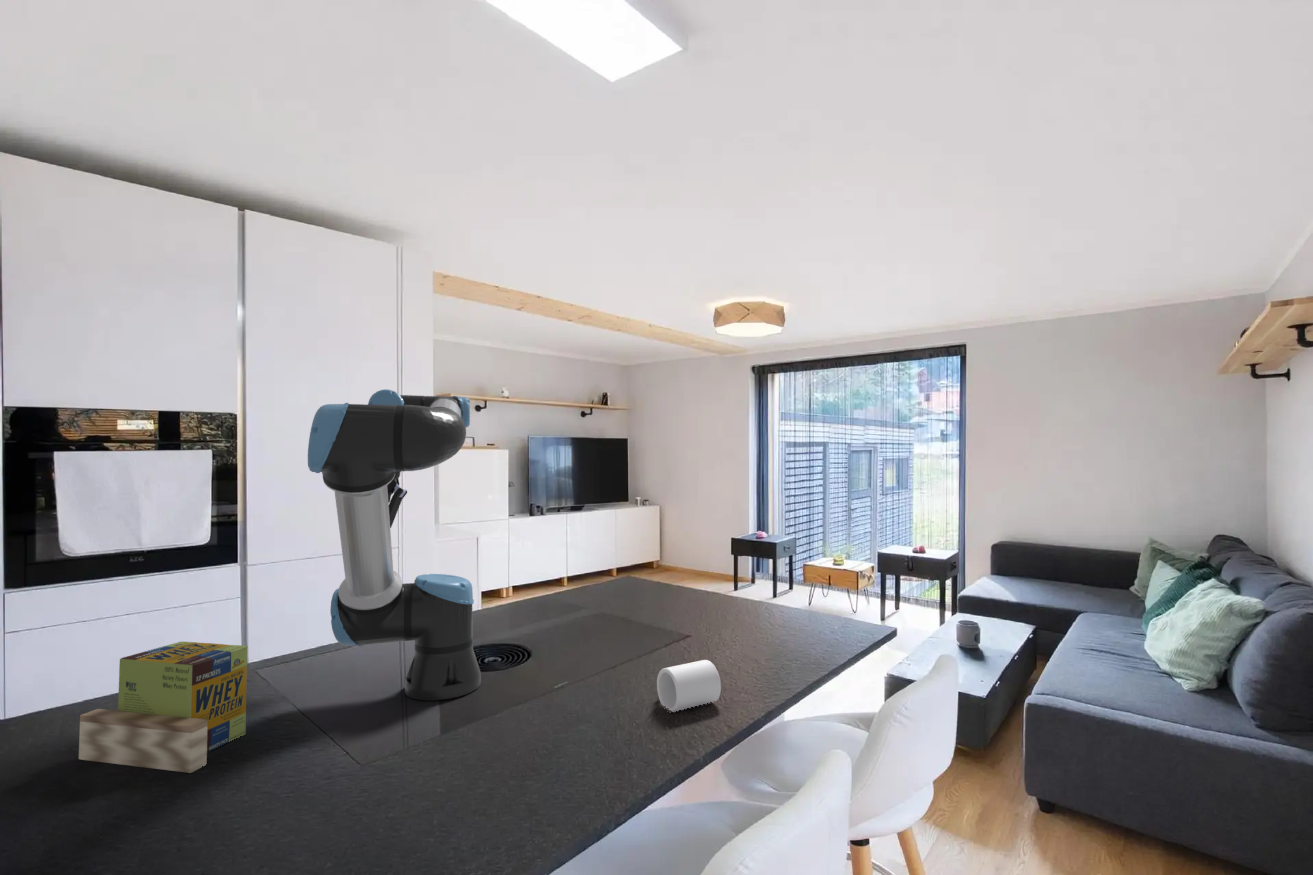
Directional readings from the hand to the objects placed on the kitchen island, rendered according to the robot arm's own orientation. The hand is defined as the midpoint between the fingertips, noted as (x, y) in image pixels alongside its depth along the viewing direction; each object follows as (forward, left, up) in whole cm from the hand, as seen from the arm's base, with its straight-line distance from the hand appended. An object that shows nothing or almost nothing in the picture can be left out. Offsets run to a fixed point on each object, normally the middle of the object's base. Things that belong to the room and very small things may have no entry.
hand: (368, 558), depth 141 cm
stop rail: (+6, +45, -25) cm, 52 cm away
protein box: (+6, +39, -26) cm, 47 cm away
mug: (-75, +5, -26) cm, 79 cm away
